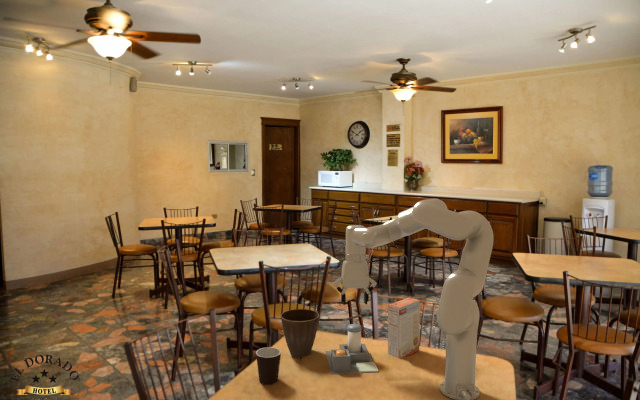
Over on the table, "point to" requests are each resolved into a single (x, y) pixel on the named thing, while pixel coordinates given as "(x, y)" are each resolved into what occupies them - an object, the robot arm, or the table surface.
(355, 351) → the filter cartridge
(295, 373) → the table surface
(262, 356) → the coffee mug
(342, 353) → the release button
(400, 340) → the cracker box
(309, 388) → the table surface
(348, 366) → the grey compartment tray
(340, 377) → the table surface
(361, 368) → the mat
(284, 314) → the plant pot
